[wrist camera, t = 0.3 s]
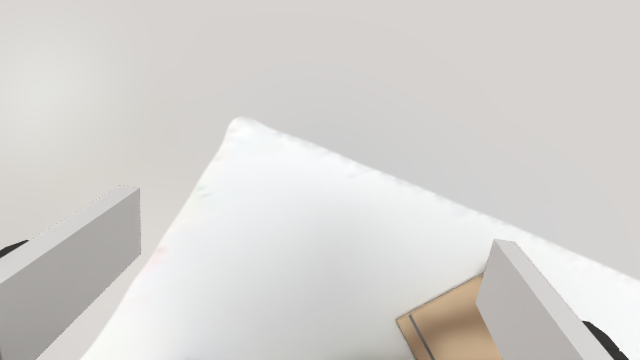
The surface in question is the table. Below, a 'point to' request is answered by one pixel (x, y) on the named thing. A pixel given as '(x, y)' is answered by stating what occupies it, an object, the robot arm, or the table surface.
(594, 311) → the table surface
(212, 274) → the table surface
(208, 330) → the table surface
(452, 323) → the board
